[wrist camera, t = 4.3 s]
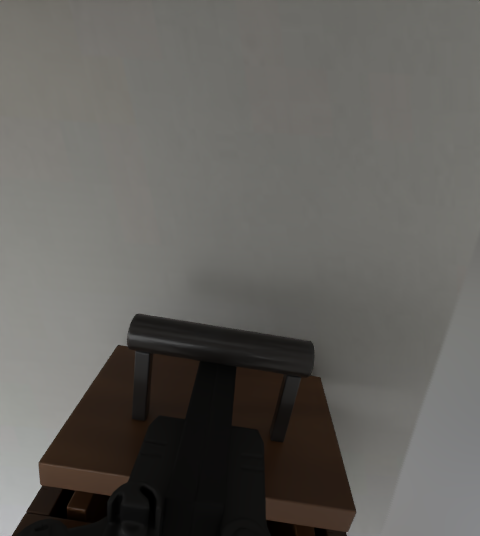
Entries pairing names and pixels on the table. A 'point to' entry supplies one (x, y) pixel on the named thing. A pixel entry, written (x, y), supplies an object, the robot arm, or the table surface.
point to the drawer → (176, 405)
